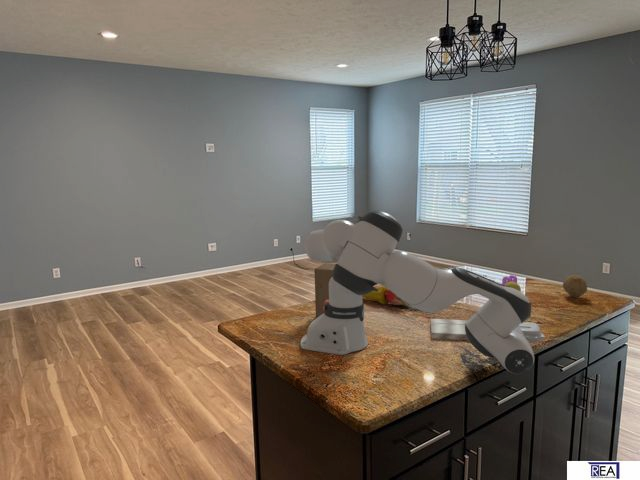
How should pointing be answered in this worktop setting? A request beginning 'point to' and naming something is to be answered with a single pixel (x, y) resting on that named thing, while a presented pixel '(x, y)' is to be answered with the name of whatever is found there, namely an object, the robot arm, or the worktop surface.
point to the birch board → (448, 329)
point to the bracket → (509, 279)
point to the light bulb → (513, 285)
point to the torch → (385, 297)
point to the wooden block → (322, 286)
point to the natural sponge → (575, 286)
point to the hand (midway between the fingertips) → (498, 321)
